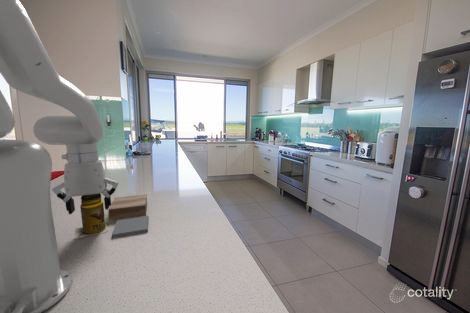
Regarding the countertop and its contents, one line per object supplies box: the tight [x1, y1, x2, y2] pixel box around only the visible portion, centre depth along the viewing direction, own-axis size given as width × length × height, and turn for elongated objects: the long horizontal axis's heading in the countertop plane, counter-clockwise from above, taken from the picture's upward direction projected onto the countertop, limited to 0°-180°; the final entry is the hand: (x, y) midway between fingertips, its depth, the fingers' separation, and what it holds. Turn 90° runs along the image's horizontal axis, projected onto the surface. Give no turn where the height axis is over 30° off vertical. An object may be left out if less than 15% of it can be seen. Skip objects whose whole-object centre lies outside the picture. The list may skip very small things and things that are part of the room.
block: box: [108, 194, 148, 221], centre depth 82 cm, size 12×12×4 cm
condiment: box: [74, 193, 108, 240], centre depth 67 cm, size 7×8×12 cm
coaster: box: [111, 215, 150, 238], centre depth 70 cm, size 10×10×1 cm
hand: (90, 210), depth 67 cm, fingers open, 9 cm apart
